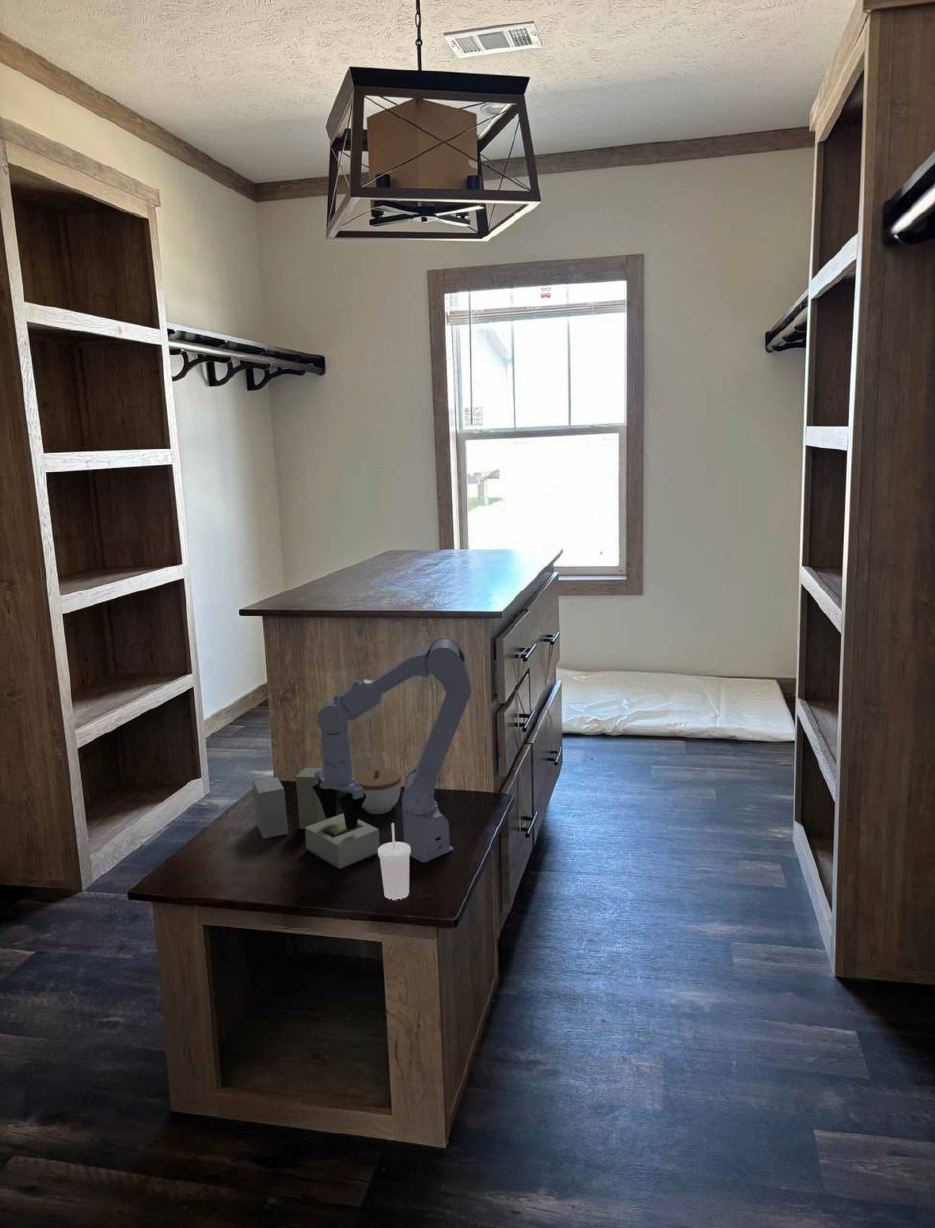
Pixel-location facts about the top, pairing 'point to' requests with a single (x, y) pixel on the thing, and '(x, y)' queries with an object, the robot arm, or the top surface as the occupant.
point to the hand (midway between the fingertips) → (341, 822)
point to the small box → (270, 807)
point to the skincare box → (308, 798)
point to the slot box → (342, 842)
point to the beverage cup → (395, 868)
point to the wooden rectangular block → (338, 830)
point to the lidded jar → (379, 789)
